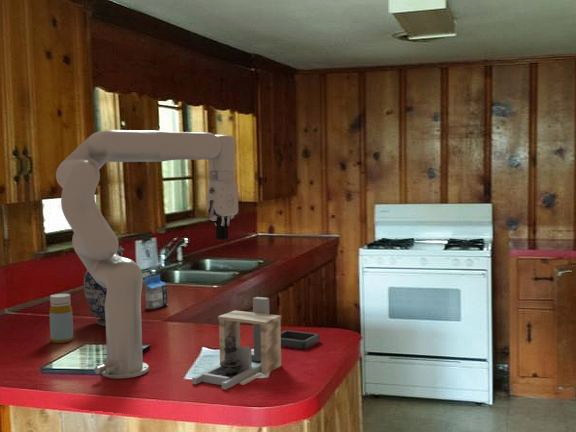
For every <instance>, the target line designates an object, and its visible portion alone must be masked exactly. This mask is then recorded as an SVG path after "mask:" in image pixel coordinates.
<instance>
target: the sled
mask: <svg viewBox="0 0 576 432" xmlns="http://www.w3.org/2000/svg"><path fill="white" fill-rule="evenodd" d="M252 312H253V313H262V314H270V298H269V297H263V296H261V297H260V296H256V297H253V298H252ZM252 327H253V329H252V331H253V350H252V347H248V346H241V345H240V346H236V348H237V350H236V356H237V360H239V361H241V362H242V364H241V367H240V370H239V371H238V373H239V374H238V375H236V376H234V377H232V378H230V377H226V376H222V375H220V373H223V372H224V371H223V370H222V368H221V365H220V364H219V365H217V366H215V367H212V368H210V369H208V370H205V371H203V372H202V373H200V374H196V375H194V376H193V377H192V380H191V381H192V382H191V383H192V384H194V385H197V384H200V383H201V382H202V383H207V384H213V385H219V386H221V390H228V389H230V388H232V387H234V386H235V385H237V384H240V382H241V381H243V380H245V379H247V378H249V377H251V376H253V375H255V374H256V373H261V327H260V324H253V323H252ZM224 348H225V345H224ZM224 360H225V350H224ZM252 361H253V362H254V361H255V362H260V363H258V364H256V365H253V364H252ZM252 365H253V366H252Z"/></svg>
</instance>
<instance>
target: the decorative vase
mask: <svg viewBox="0 0 576 432" xmlns="http://www.w3.org/2000/svg"><path fill="white" fill-rule="evenodd" d="M124 251H125V248H123V247H122V245H119V244H118V250H117V253H118V255H119V256H120V257H123V256H124V255H123V252H124ZM83 292H84V296H85V299H86V302H87V303H88V308H89V310H90V313H91V316H95V317H96V318H98V319H97V321H96V324H97V325H99V326H101V327H106V319H105V300H106V294H107V288H105V287H102V286H101V285H99V284H98V283H97V282H96V281H95V280H94V278H93V277H92V276H91V274H90V273H89V271H88V270H87V269H86V272H85V273H84V277H83Z"/></svg>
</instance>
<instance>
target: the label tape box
mask: <svg viewBox="0 0 576 432" xmlns="http://www.w3.org/2000/svg"><path fill="white" fill-rule="evenodd" d="M152 279H153V280H152ZM144 291H145V292H144V293H145V294H144V295H145V308H146V309H147V310H154V309H159V308H161V307H165V305H166V306H169V304H168V303H169V302H168V286H167V284H166V283H165V282H163V281H161V274H157V275H153V276H148V277H145V278H144Z"/></svg>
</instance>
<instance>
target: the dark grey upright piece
mask: <svg viewBox="0 0 576 432" xmlns="http://www.w3.org/2000/svg"><path fill="white" fill-rule="evenodd" d="M224 350H225V360H224V361H222V362H221V363H220V362H219V365H221V368H222V370H223V372H224V373H223V374H221V376H226V377H230V378H232V377H234V376H236V375H238V374H240V373H238V371H239V370H240V367H241V364H242V362H241V361H239V360H237V356H236V350H237V348H236V338H235V336H233V335H231V332H230V333H229V335H228V336H226V338H225V348H224Z"/></svg>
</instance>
